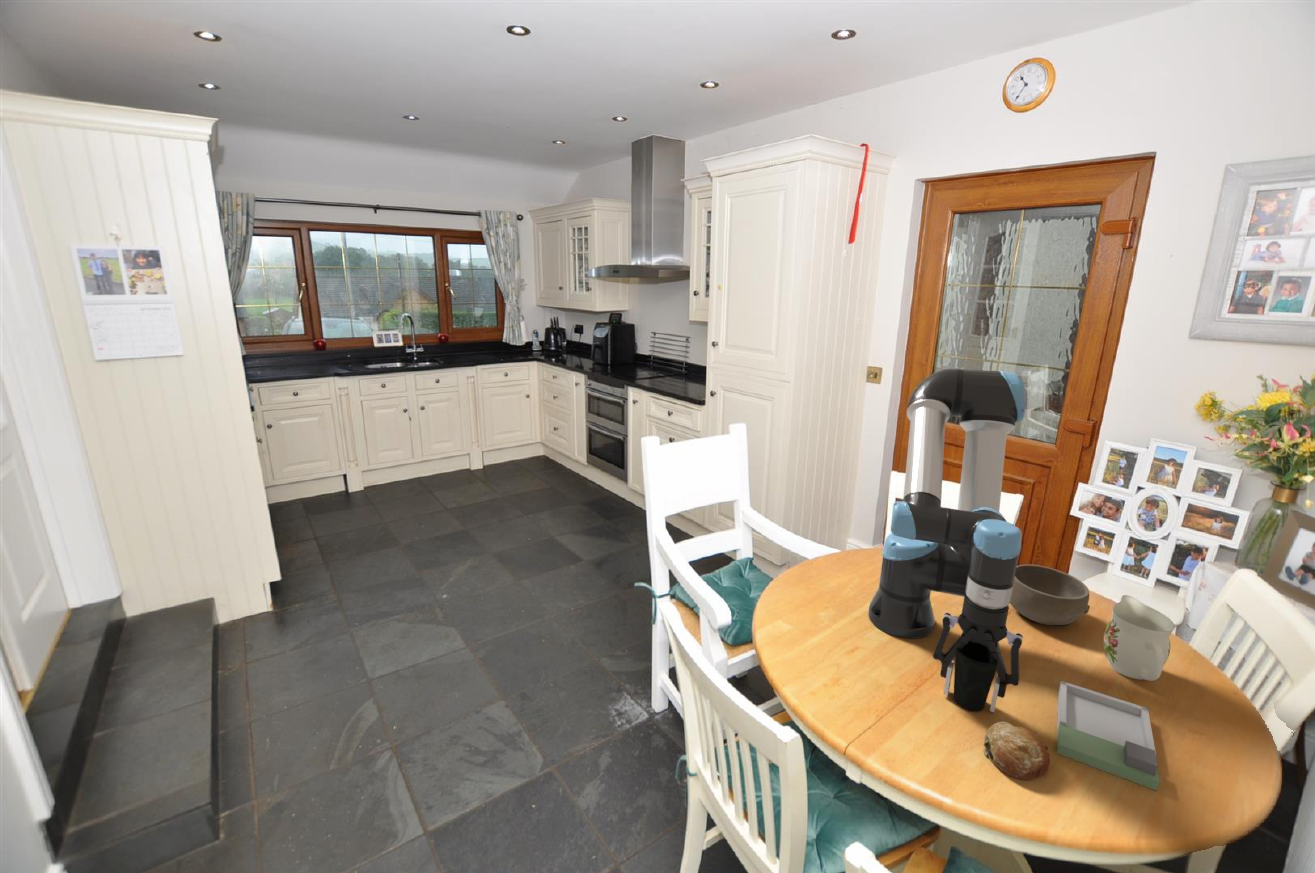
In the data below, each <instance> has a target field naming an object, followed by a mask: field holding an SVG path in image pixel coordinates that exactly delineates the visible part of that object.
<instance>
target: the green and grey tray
mask: <svg viewBox="0 0 1315 873" xmlns="http://www.w3.org/2000/svg"><path fill="white" fill-rule="evenodd" d="M1057 693H1058V694H1057V731H1056V732H1057V734H1056V735H1057V736H1056V737H1057V738H1056V754H1058V755H1061V756H1064V757H1066V758H1069V759H1072V760H1073V761H1076V762H1080V763H1082V764H1084V765H1087V766H1090V767H1092V768H1095V769H1097V770H1101V771H1102V772H1106V773H1108V774H1110V775H1114V776H1117V777H1118V778H1122V779H1124V780H1127V781H1129V782H1133V783H1135V784H1137V785H1140V786H1142V787H1145V788H1148V789H1150V790H1154V791H1156V792H1157V791H1158V789H1159V785H1160V783H1161V782H1160V776H1159V771H1158V768H1159V765H1158V760H1157V759H1158V758H1157V752H1156V746H1155V740H1154V735H1153V730H1152V725H1151V718H1150V714H1149V708H1148V707H1145V706H1142V705H1139V704H1135V703H1132V702H1129V701H1127V700H1122V699H1120V698H1117V697H1114V696H1110V695H1108V694H1104V693H1102V692H1098V691H1095V690H1092V689H1089V688H1085V687H1083V686H1079V685H1076V684H1073V683H1070V682H1067V681H1063V680H1060V682H1059V687H1058V692H1057Z"/></svg>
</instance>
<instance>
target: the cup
mask: <svg viewBox="0 0 1315 873" xmlns="http://www.w3.org/2000/svg"><path fill="white" fill-rule="evenodd" d="M997 663H998V661H995V662H993V658H992V655H991V653H990V651H989V648H988V647H987V646H984V645H982V644H980V643H974V642H971V641H969V642H968V643H967V644H966V645H965V646H964V647H963V648H962V649H961V650H960V651H959V649H958V648H956V656H955V657H954V678H953V701H954V702H955V704H956V705H957V706H958V707H960V708H961V709H963V710H966V711H968V712H973V713H979V712H982V711H984V709H985V705H986V702H987V699H988V697H989V693H990V691H991V687H992V684H993V681H994V678H995V674H996V673H997V671H996V666H997Z"/></svg>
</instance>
